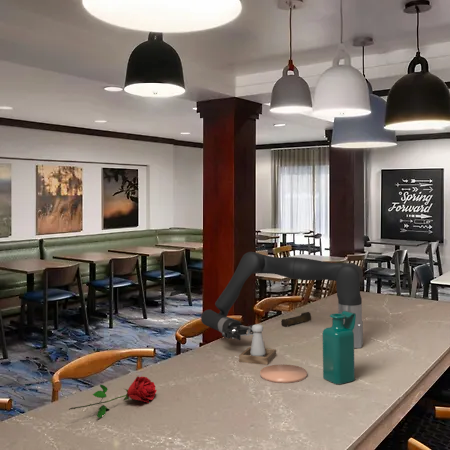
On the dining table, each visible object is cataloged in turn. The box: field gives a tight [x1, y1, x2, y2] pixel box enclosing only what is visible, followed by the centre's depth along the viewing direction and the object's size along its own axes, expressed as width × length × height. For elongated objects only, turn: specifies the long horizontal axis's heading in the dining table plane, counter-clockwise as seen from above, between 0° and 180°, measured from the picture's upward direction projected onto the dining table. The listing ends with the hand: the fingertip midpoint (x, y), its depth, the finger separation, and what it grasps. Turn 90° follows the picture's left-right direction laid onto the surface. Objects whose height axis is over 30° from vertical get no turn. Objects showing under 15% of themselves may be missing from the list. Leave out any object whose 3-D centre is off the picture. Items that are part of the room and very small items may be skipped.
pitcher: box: [321, 311, 356, 385], centre depth 172 cm, size 10×8×22 cm
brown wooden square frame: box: [238, 346, 277, 366], centre depth 196 cm, size 11×11×2 cm
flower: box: [68, 375, 157, 419], centre depth 152 cm, size 9×9×30 cm
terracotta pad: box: [259, 363, 308, 384], centre depth 178 cm, size 16×16×1 cm
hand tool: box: [280, 311, 312, 328], centre depth 249 cm, size 19×4×5 cm, turn 127°
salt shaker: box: [250, 323, 266, 357], centre depth 196 cm, size 6×6×13 cm
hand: (249, 335), depth 201 cm, fingers open, 8 cm apart
